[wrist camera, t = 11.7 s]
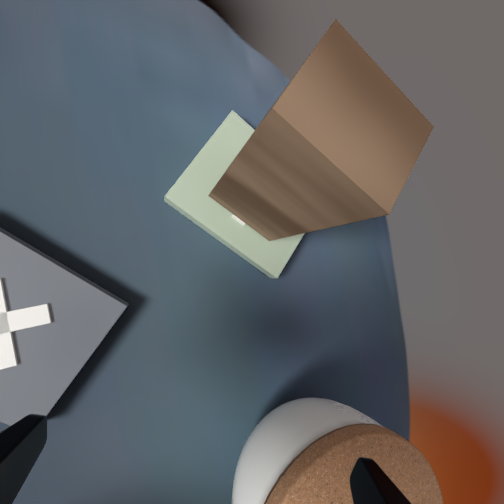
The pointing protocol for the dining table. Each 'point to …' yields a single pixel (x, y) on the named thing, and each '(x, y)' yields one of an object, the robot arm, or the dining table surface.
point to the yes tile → (216, 216)
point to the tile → (45, 327)
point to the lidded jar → (324, 457)
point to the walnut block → (326, 146)
